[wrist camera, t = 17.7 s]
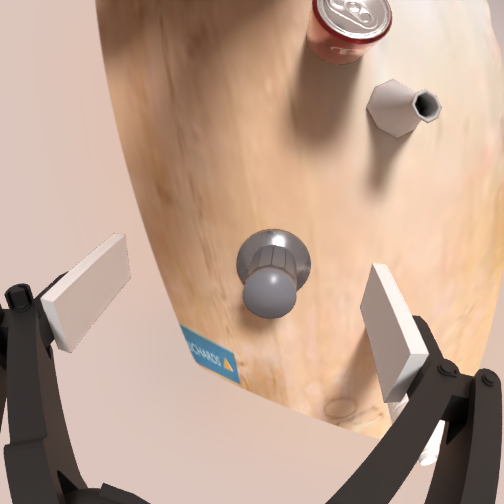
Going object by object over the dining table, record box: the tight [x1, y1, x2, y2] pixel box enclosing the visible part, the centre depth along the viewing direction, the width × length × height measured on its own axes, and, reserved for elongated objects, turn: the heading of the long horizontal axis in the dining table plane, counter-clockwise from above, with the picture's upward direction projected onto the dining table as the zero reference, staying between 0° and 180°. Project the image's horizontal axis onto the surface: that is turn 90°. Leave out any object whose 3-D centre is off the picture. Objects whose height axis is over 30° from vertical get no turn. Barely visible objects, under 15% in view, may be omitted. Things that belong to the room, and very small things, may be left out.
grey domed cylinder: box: [243, 244, 297, 319], centre depth 38 cm, size 6×6×8 cm
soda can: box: [307, 0, 392, 65], centre depth 24 cm, size 7×7×12 cm
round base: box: [237, 229, 311, 290], centre depth 40 cm, size 10×10×6 cm
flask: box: [367, 79, 442, 138], centre depth 28 cm, size 7×7×10 cm
